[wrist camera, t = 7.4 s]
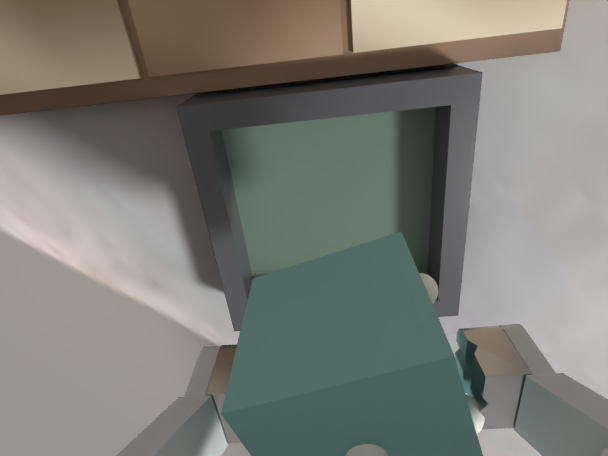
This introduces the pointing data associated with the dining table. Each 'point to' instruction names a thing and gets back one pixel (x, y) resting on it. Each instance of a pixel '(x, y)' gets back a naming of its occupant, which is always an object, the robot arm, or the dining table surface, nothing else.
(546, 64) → the dining table surface
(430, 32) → the board
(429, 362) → the die
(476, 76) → the dice tray
